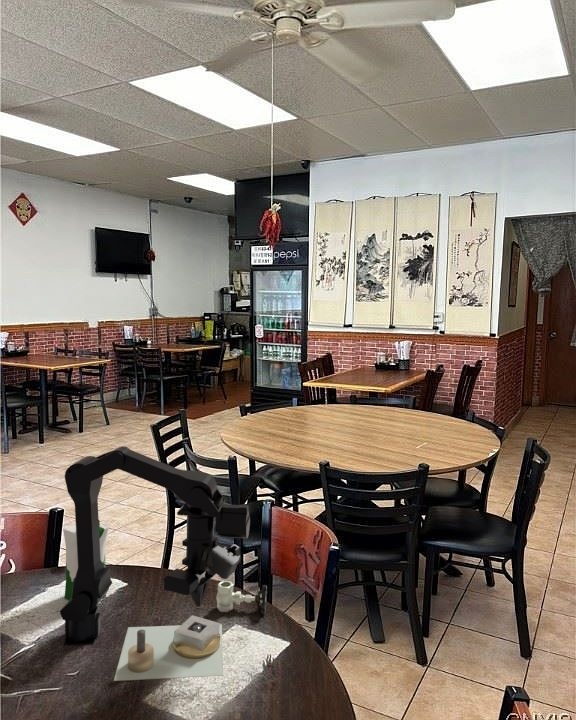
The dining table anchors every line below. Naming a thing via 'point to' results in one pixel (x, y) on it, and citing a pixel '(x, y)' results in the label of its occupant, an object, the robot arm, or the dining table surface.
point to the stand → (140, 655)
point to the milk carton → (72, 554)
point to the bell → (195, 653)
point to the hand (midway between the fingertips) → (198, 605)
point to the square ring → (196, 633)
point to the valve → (238, 597)
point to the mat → (167, 657)
